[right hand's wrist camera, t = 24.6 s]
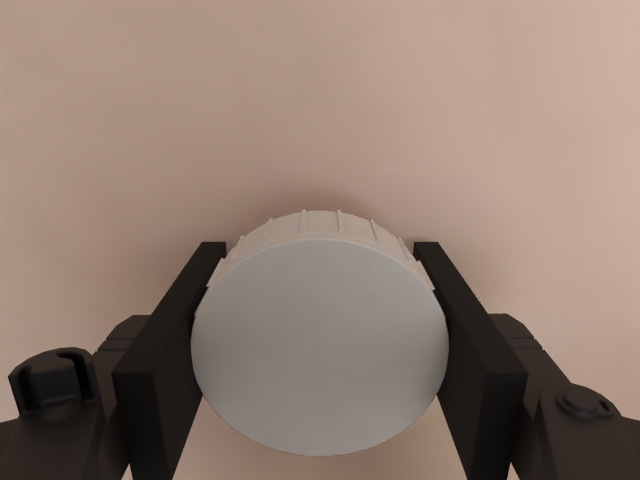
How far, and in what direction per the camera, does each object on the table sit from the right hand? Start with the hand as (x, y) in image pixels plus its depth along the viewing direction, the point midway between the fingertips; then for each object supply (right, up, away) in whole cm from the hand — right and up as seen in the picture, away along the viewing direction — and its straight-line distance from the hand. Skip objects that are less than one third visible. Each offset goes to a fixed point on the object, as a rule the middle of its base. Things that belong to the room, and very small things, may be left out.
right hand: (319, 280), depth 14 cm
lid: (0, -1, -4) cm, 4 cm away
